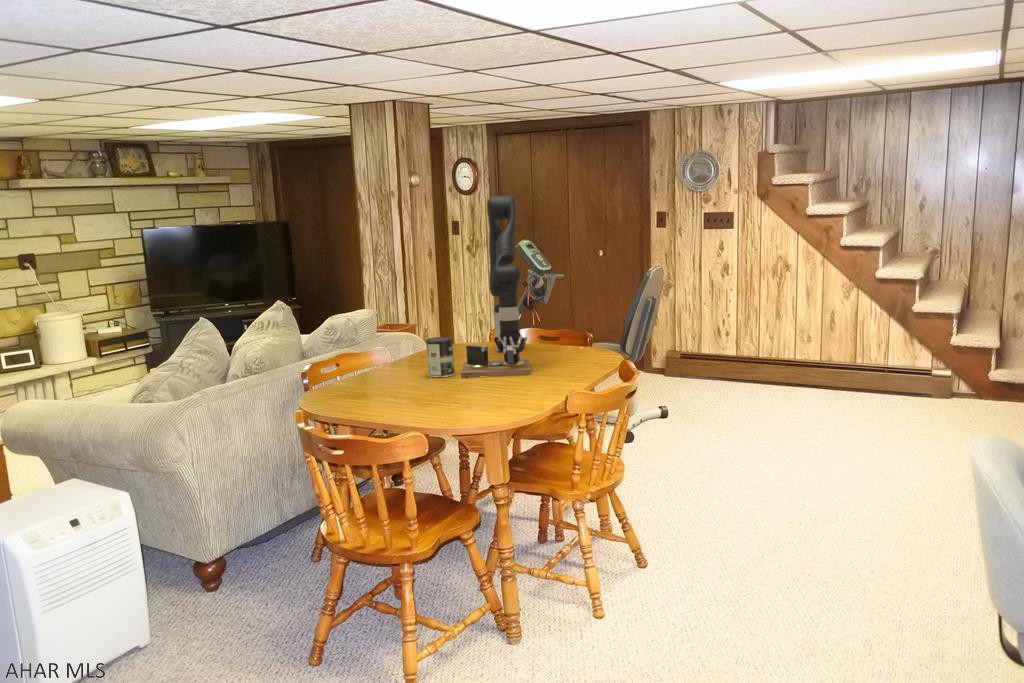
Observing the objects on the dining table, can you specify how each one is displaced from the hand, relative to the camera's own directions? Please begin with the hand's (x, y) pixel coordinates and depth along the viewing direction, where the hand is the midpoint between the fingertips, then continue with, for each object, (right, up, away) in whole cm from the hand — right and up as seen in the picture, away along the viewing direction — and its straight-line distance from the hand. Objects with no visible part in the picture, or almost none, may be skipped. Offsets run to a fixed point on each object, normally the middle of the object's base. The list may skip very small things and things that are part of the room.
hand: (511, 362), depth 311 cm
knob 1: (-13, -1, +3) cm, 14 cm away
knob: (+1, -1, +3) cm, 3 cm away
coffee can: (-27, -5, +1) cm, 27 cm away
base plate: (-6, -3, +3) cm, 8 cm away
